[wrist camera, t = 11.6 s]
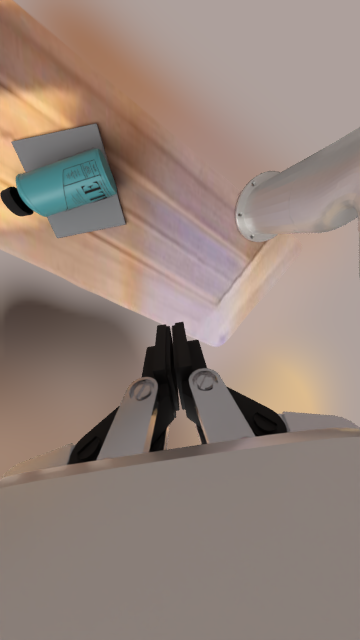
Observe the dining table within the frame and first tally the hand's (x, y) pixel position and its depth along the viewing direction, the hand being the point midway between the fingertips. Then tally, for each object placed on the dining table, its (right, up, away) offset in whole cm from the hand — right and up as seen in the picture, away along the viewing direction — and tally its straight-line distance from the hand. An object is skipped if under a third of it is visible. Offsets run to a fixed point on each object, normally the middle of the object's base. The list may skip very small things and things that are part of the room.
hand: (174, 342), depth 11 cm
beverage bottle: (-10, +27, +18) cm, 34 cm away
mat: (-20, +27, +21) cm, 40 cm away
